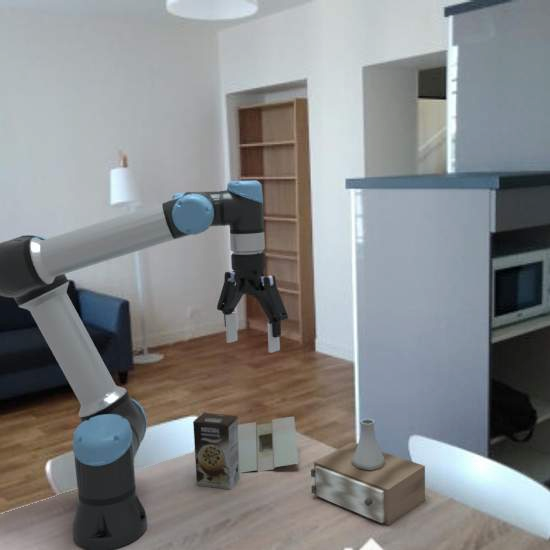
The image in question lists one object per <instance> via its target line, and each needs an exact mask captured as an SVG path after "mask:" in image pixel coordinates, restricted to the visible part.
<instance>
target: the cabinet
mask: <svg viewBox="0 0 550 550" xmlns="http://www.w3.org/2000/svg"><path fill="white" fill-rule="evenodd" d="M357 445H358V442H353V441H352V442H349V443H348V444H346V445H344V446H342V447H339V448H338V449H336V450H335V451H332V452H331V453H329V454H327V455H325V456H323V457H321V458H318V459H317V460H316V461H314V462H313V466H314V467H313V468H311V469H310V477H311V478H314V485H311V494H313V495H315V496H317V497H319V498H321V499H323V500H326V501H328V502H330V503H333V504H335V505H338V506H339V507H342V508H345V509H347V510H348V511H352V512H354V513H357V514H358V515H361V516H364V517H366V518H368V519H371V520H373V521H375V522H378V523H380V524H382V525H386V526H388V527H389V526H391V525H392V524H394V522H396V521H397V520H399V519H400V518H402V517H403V516H405V515H406V514H407V513H409V512H410V511H412V510H413V509H414V508H416V507H417V506H418V505H420V504H422V503H423V502H424V501H426V465H423V464H420V463H417V462H414V461H411V460H408V459H405V458H402V457H399V456H396V455H393V454H390V453H387V452H384V451H381V452H382V454H383V457H384V459H385V462H386V463H385V464H384V465H383V466H382V467H381V468H378V469H374V470H365V469H360V468H357V467H356V466H354V465H353V464H352V463H351V462H352V459H353V456H354V454H355V451H356V448H357Z"/></svg>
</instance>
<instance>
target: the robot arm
mask: <svg viewBox="0 0 550 550" xmlns="http://www.w3.org/2000/svg"><path fill="white" fill-rule="evenodd" d="M226 187H227V188H226V190H220V191H185V192H178V193H177V192H176V193H174V194H173V195H172V197H171V200H168V201H165V202H162V203H159V204H155V205H151V206H149V207H145V208H142V209H139V210H136V211H132V212H129V213H126V214H123V215H119V216H116V217H113V218H109V219H107V220H103V221H101V222H100V221H99V222H98V223H94V224H91V225H87V226H85V227H84V226H83V227H81V228H77V229H74V230H72V231H69V232H65V233H62V234H59V235H58V234H57V235H55V236H51V237H49V238H46V237H44V236H40V235H34V234H27V235H21V236H18V237H15V238H12V239H9V240H6V241H2V242H0V296H1V297H5V298H13V299H14V300H15V303H16V304H17V306H18V308H21V309H25V310H27V311H29V312H30V314H31V317H32V318H33V319H34V321H35V323H36V325H37V327H38V329H39V331H40V332H41V334H42V336H43V337H44V340H45V342H46V344H47V345H48V347H49V349H50V351H51V352H52V355H53V357H55V361H56V362H57V363H58V365H59V367H60V369H61V371H62V372H63V375H64V376H65V379H66V380H67V382H68V384H69V386H70V388H71V389H72V391H73V393H74V394H75V396H76V398H77V400H78V402H79V404H80V409H79V411H78V418H79V419H80V421H81V423H80V424H79V425H78V426H77V427H76V428H75V430H74V432H73V437H72V452H73V456H74V466H75V474H76V476H75V477H76V486H77V495H78V502H77V506H76V511H75V515H74V518H73V523H72V537H73V539H72V540H73V541H74V543H75V544H76V545H77V546H79V547H81V548H82V549H86V550H115V549H119V548H123V547H125V546H127V545H130V544H131V543H133V542H135V541H137V540H138V539H139V538H140V537H142V536H143V535H144V533H145V532H146V530H147V527H148V517H147V512H146V509H145V507H144V505H143V503H142V501H141V498H140V497H139V494H138V492H137V487H136V474H135V472H136V471H135V457H136V455H137V452H138V451H139V449H140V446H141V444H142V442H143V440H144V438H145V435H146V432H147V424H148V423H147V422H148V421H147V420H148V419H147V415H146V412H145V410H144V408H143V406H142V405H141V404H140V403H139V402H138V401H137V400H135V399H134V398H131V396H130V394H129V392H128V391H127V389H126V388H125V387H122V386H118V385H116V382H115V381H114V379H113V377H112V375H111V374H110V371H109V369H108V368H107V366H106V364H105V363H104V361H103V358H102V356H101V354H100V353H99V351H98V349H97V347H96V346H95V344H94V341H93V340H92V338H91V336H90V334H89V332H88V331H87V328H86V327H85V325H84V322H83V321H82V319H81V317H80V316H79V313H78V312H77V310H76V308H75V306H74V304H73V302H72V300H71V299H70V296H69V294H68V293H67V291H68V287H69V285H70V282H69V280H68V278H67V276H66V274H68V273H69V274H70V273H72V272H75V271H78V270H81V269H85V268H88V267H91V266H95V265H97V264H100V263H103V262H107V261H110V260H113V259H117V258H119V257H120V258H121V257H122V256H126V255H129V254H132V253H135V252H138V251H142V250H146V249H149V248H151V247H155V246H158V245H161V244H164V243H167V242H171V241H174V240H176V239H181V238H184V237H188V236H191V235H193V236H195V235H198V234H201V233H204V232H206V231H207V230H208V229H209V228H210V227H220V226H221V227H223V226H224V227H226V226H229V243H230V247H229V248H230V249H229V250H230V251H231V252H232V254H231V255H230V261H231V262H230V263H231V265H230V266H231V271H225V272H224V277H223V278H224V282H223V286H222V289H221V291H220V296H219V299H218V302H217V306H216V309H217V311H221V312H222V314H223V317H224V318H223V320H224V327H225V334H226V335H225V336H226V343H227V344H230V343H234V342H236V341H238V340H239V338H238V323H237V322H238V320H237V319H238V318H237V313H236V308H237V306H238V304H239V303H240V301H241V300H242V298H243V296H244V295H249V296H253V297H254V299H257V301H258V303H259V305H260V306H261V309H263V312H264V313H265V315H266V317H267V318H268V320H269V321H268V322H266V323H267V344H268V345H267V346H268V348H267V349H268V353H271V354H272V353H275V352H279V351H281V344H280V343H281V342H280V337H281V336H282V327H281V324H282V323H281V322H283V321H284V320H288V318H289V314H288V313H287V310H286V307H285V304H284V302H283V300H282V297H281V295H280V292H279V290H278V286H277V283H276V282H277V280H276V276H275V275H268V276H265V274H264V270H266V268H267V267H266V266H267V265H266V264H267V261H266V253H265V252H264V250H265V249H266V246H265V245H266V243H265V242H266V241H265V216H264V215H265V213H264V212H265V211H264V197H263V196H264V193H263V186H262V184H261V182H260V181H258V180H254V179H253V180H235V181H234V180H231V181H228V183H227V185H226Z"/></svg>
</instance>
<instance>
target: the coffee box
mask: <svg viewBox="0 0 550 550" xmlns="http://www.w3.org/2000/svg"><path fill="white" fill-rule="evenodd" d="M238 419H239V417H238V415H232V414H221V413H211V412H210V413H209V412H203V413H202V414H201V415H199V416H198V417H196V418H195V419H194V420H193V421H192V425H193V439H194V444H193V445H194V456H195V457H194V458H195V475H196V478H195V479H196V486H202V487H209V488H216V489H225V490H232V489H233V487H234V486H235V485H236V484H237V483H238V481H239V480H240V479H241V477H240V476H241V473H240V470H239V448H238V425H239V422H238Z"/></svg>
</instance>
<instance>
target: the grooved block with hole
mask: <svg viewBox="0 0 550 550" xmlns="http://www.w3.org/2000/svg"><path fill="white" fill-rule="evenodd" d="M295 421H296V420H295V416H289V417H288V416H287V417H279V418H275V419H274V418H273V419H271V422H267V423H259V424H257V422H256V421H255V422H249V423H248V422H246V423H238V448H239V470H240V474H242V473H247V472H254V471H257V472H264V471H271V470H275V468H278V467H282V466H283V467H284V466H291V465H297V464H300V457H299V456H300V455H299V449H298V440H297V430H296V422H295Z"/></svg>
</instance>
